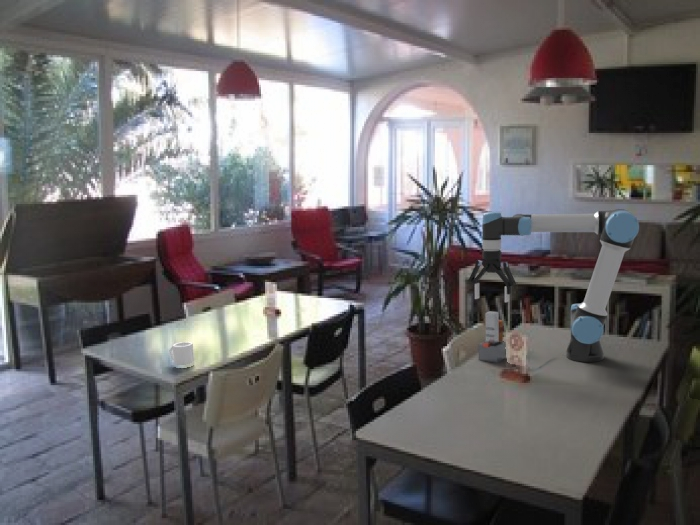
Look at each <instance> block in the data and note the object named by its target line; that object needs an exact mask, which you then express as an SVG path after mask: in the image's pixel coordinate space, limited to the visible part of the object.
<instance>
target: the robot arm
mask: <svg viewBox="0 0 700 525" xmlns="http://www.w3.org/2000/svg"><path fill="white" fill-rule="evenodd" d="M481 223H482V224H481V225H482V232H481V233H482V243H481V244H482V245H481V246H482V247H481V248H482V249H483V250H482V251H481V252H482V260H481V259H477V260H475V262H474V263H475V265H474V267H473V270H472V272H471V274H470V277H469V279H468V282H470V283H472V290H473V291H474V300H478V299H480V282H479V281H480V279H482V277H483V276H484V275H485V274H486V273H490V272H491V273H496V275H498V276H499V278H500V279H501V280H502V282H503V283H504V284H505V286H504V303H509V302H510V295H511V294H512V286H515V285H517V282H516V280H515V278H514V275H513V273H512V271H511V269H510V266H509V261H505V262H502V250H501V249H502V236H521V237H523V236H530V235H531V234H532V233H595V234H596V235H600V239H599V242H600V244H601V248H600V251H599V254H598V258H597V260H596V263H595V266H594V269H593V272H592V275H591V278H590V281H589V284H588V287H587V290H586V293H585V297H584V299H583V301H582V302H581V303H573V304H571V305H570V306H571V307H570V340H569V343H568V345H567V348H566V351H565V352H566V354H565V355H566V357H567V358H568V359H569V360H572V361H576V362H582V363H591V362H592V363H596V362H601V361H603V360H604V359H605V352H604V348H603V346H602V342H601V339H602V336H603V335H604V330H605V329H604V326H605V323H606V321H607V318H608V315H609V314H608V312H607V310H606V309H607V305H608V302H609V299H610V297H611V293H612V291H613V287H614V285H615V282H616V279H617V277H618V276H617V275H618V273H619V270H620V267H621V264H622V261H623V258H624V255H625V253H626V252H627V251H629V250H631V248H632V245H633V243H634V240H635V238H636V237H637V236H638V233H639V230H640V223H639V220H638V218H637V216H636V215H635V214H633V213H632V212H631V211H629V210H626V209H623V208H618V209H616V208H615V209H609V210H598V211H596V212H595V213H547V214H546V213H545V214H544V213H543V214H539V213H536V214H533V213H532V214H522V213H516V214H514V215H512V216H507V217H506V216H502V213H501V212H498V211H489V212H484V213H483V214H482V222H481ZM481 266H482V267H483V268H481V270H480V267H481ZM479 270H480V271H479ZM503 270H504V271H503ZM478 272H479V273H478ZM567 358H566V359H567Z"/></svg>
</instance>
